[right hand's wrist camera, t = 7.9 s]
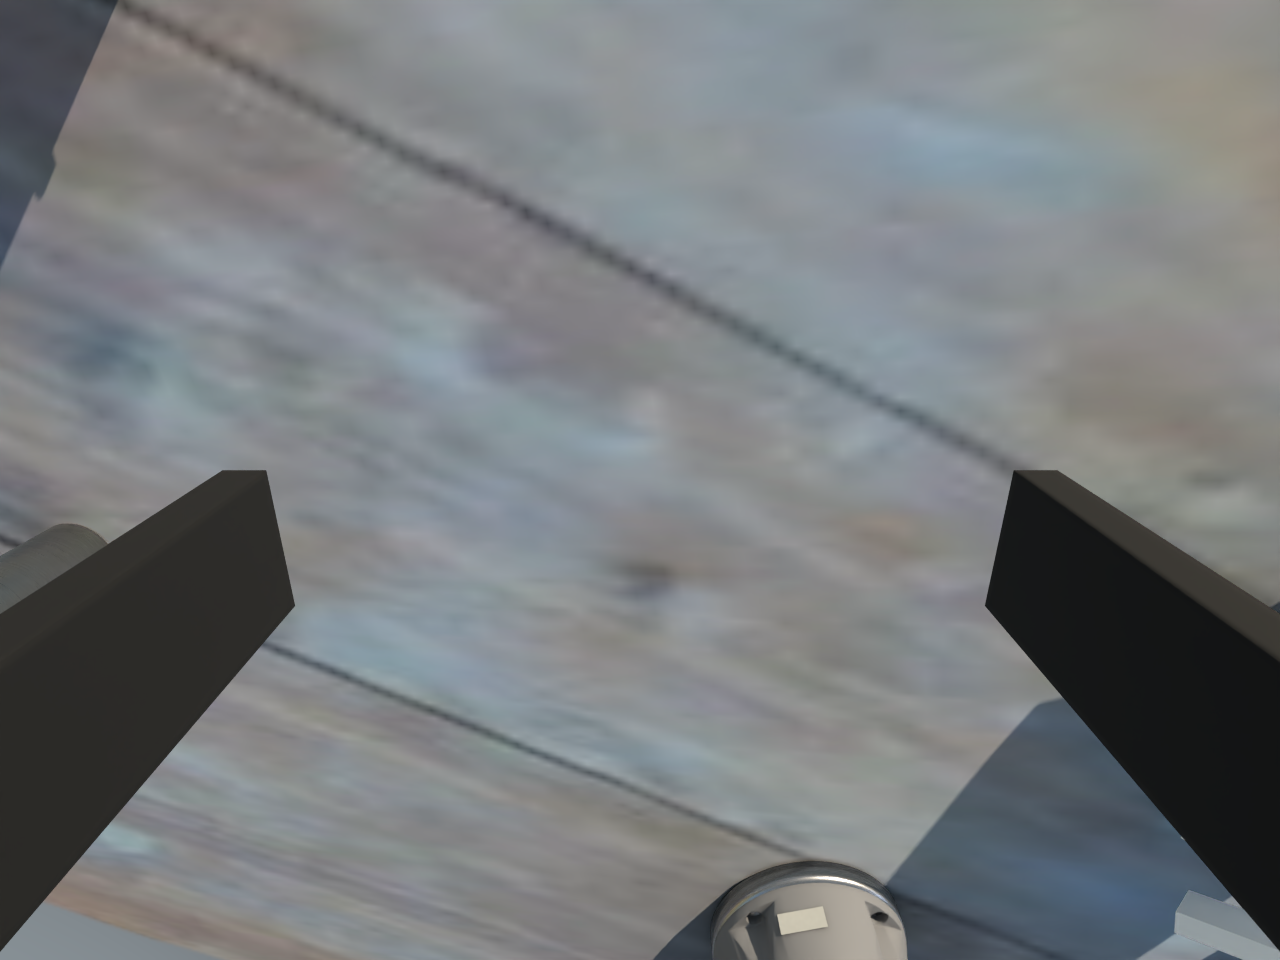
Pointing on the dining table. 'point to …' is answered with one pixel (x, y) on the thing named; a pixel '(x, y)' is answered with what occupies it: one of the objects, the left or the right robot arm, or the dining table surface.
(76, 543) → the bottle
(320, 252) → the dining table surface
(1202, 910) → the white plastic object
